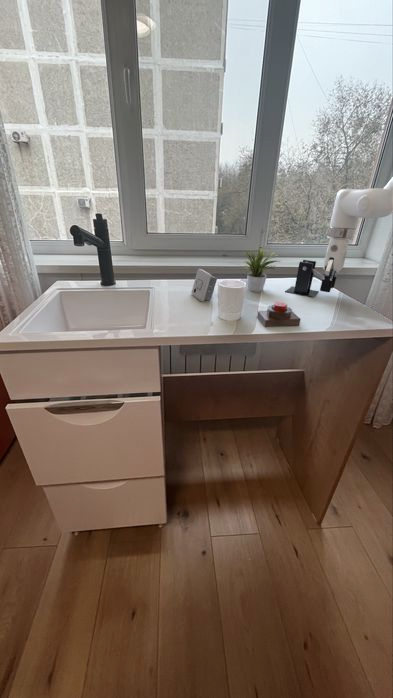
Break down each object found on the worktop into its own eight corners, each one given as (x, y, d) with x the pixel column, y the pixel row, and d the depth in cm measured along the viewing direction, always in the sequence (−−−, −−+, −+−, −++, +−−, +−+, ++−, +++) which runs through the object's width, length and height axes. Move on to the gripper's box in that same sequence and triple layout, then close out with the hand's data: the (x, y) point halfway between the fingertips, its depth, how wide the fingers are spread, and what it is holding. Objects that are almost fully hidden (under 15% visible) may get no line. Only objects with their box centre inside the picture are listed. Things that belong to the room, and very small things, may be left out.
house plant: (252, 301, 97) (258, 251, 89) (226, 290, 107) (230, 244, 99) (281, 294, 104) (289, 248, 96) (254, 285, 114) (260, 242, 106)
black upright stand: (318, 294, 106) (325, 261, 100) (312, 300, 100) (320, 265, 94) (291, 289, 110) (297, 257, 105) (284, 294, 105) (290, 261, 99)
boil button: (283, 307, 82) (284, 301, 81) (288, 312, 79) (289, 306, 78) (271, 307, 82) (272, 302, 81) (275, 312, 79) (276, 306, 78)
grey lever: (329, 283, 101) (334, 278, 99) (326, 287, 97) (330, 281, 95) (303, 266, 103) (307, 260, 102) (299, 268, 99) (303, 262, 98)
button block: (289, 316, 86) (291, 304, 84) (299, 326, 80) (302, 312, 78) (257, 317, 85) (258, 304, 83) (264, 327, 79) (266, 313, 77)
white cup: (210, 316, 85) (212, 283, 80) (226, 309, 90) (229, 278, 85) (232, 324, 80) (235, 289, 75) (247, 316, 85) (251, 283, 80)
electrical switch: (190, 294, 103) (193, 268, 98) (203, 294, 105) (207, 268, 100) (201, 302, 95) (204, 274, 91) (214, 302, 97) (218, 275, 93)
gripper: (348, 237, 83) (332, 297, 91) (357, 232, 95) (343, 285, 104) (321, 235, 86) (309, 293, 95) (333, 230, 99) (321, 282, 107)
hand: (326, 288), depth 99 cm, fingers closed on grey lever, 5 cm apart
